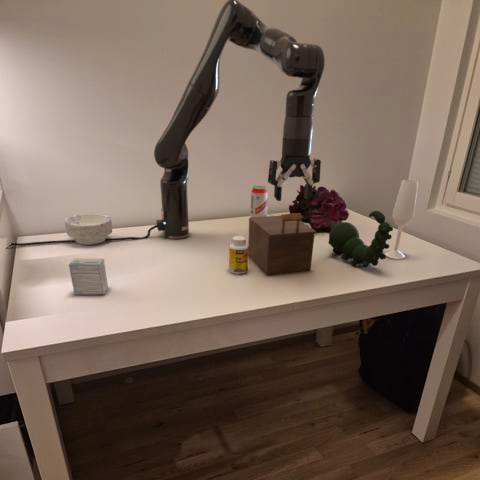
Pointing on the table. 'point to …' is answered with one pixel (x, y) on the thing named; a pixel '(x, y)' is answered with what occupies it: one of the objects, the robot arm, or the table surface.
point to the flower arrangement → (320, 208)
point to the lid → (282, 225)
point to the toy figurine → (360, 242)
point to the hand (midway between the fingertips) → (292, 199)
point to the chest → (280, 252)
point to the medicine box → (88, 276)
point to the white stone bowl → (88, 228)
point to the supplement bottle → (238, 255)
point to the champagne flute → (403, 212)
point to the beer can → (259, 201)
